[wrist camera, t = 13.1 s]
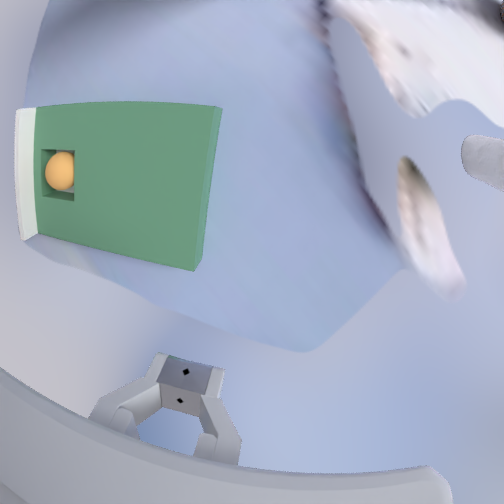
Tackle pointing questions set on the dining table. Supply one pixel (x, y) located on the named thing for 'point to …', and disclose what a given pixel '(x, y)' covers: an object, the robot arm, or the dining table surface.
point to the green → (120, 177)
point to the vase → (502, 10)
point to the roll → (484, 159)
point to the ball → (60, 171)
